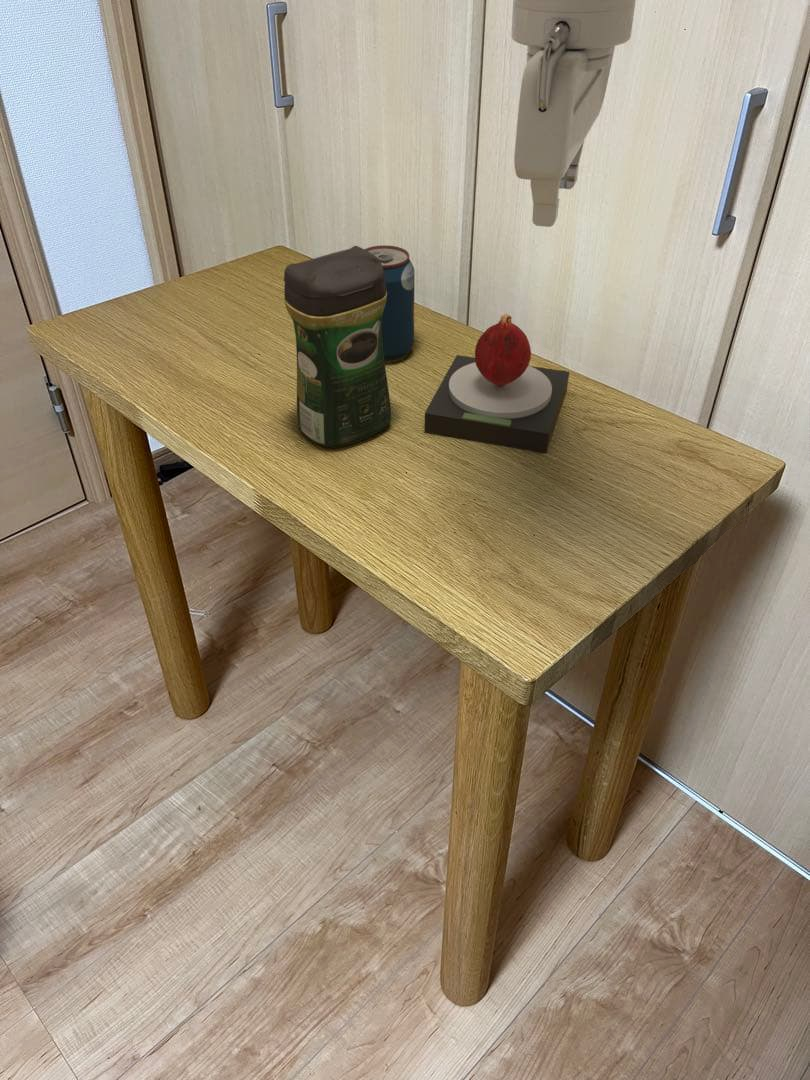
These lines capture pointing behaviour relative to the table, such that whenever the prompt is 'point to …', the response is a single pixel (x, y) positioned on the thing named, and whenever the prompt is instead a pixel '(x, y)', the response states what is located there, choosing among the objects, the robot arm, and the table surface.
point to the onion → (502, 352)
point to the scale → (498, 406)
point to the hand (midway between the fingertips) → (555, 204)
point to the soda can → (397, 301)
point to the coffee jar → (339, 346)
